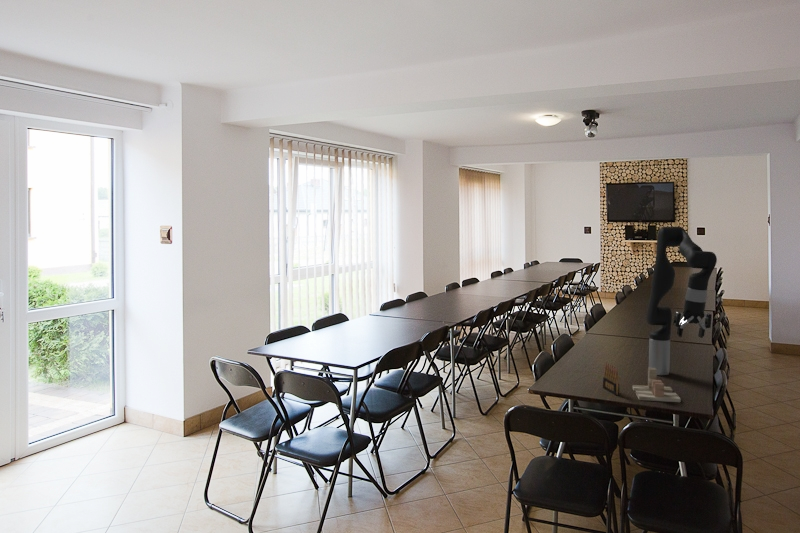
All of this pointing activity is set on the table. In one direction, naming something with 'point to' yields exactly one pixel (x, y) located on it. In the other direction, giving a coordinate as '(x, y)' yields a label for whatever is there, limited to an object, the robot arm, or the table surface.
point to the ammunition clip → (611, 379)
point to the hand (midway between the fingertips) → (689, 336)
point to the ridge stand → (658, 393)
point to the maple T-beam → (650, 382)
